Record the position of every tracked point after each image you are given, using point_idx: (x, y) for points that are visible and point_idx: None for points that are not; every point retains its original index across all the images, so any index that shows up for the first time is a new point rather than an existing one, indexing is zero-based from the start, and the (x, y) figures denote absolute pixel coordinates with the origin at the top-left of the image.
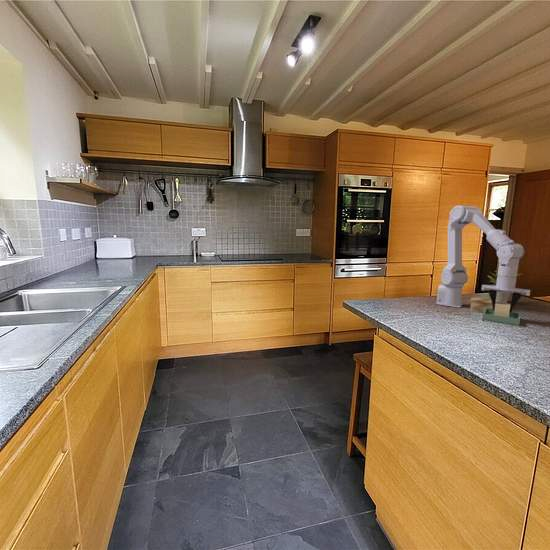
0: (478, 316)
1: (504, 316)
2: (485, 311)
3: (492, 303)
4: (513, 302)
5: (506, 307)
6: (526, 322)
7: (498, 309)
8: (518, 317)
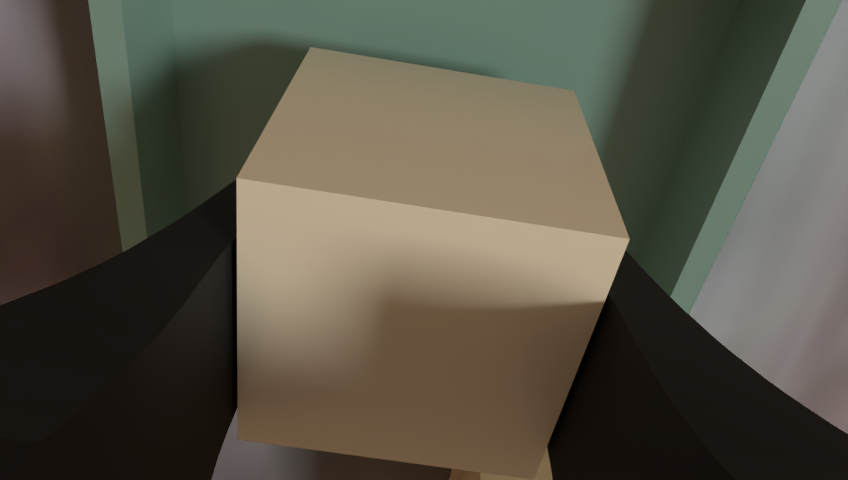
0: (768, 158)
1: (383, 60)
2: (721, 188)
3: (674, 303)
4: (123, 296)
5: (340, 159)
6: (70, 179)
7: (516, 149)
8: (119, 13)
